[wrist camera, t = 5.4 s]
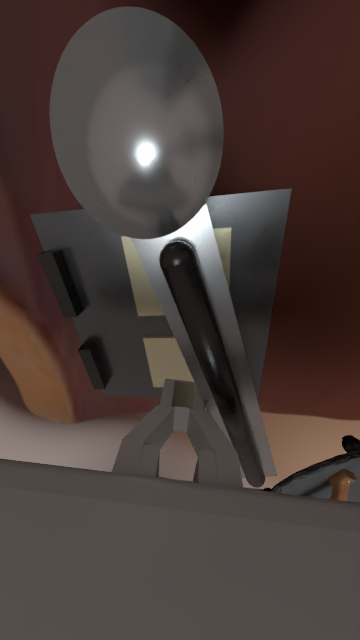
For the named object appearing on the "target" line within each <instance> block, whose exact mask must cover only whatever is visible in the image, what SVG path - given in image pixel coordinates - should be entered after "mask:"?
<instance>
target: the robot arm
mask: <svg viewBox="0 0 360 640" xmlns="http://www.w3.org/2000/svg"><path fill="white" fill-rule="evenodd" d="M173 431H182V432H187V435H188V437H189V439H190V441H191V444H192V446H193V448H194V450H195V452H196V454H197V456H198V459H197V464H196V468H195V473H194V478H193V482H186V481H178V480H170V479H162V478H159V451H160V449H161V447H162V446H163V445H164V443H165V442H166V441H167V439H168V438H169V436H170V435H171V434H172V432H173ZM0 640H360V503H357V502H349V501H341V500H332V499H324V498H316V497H308V496H300V495H292V494H283V493H275V492H267V491H259V490H251V489H243V484H242V478H241V471H240V465H239V458H238V453H237V452H236V450H235V449H234V447H233V446H232V444H231V443H230V442H229V440H228V439H227V437H226V436H225V434H224V433H223V432H222V430H221V429H220V427H219V426H218V424H217V423H216V422H215V420H214V419H213V417H212V416H211V414H210V413H209V411H207V410H205V404H204V402H203V400H202V397H201V395H200V393H199V391H198V388H197V386H196V384H195V382H194V381H183V380H174V379H165V381H164V386H163V392H162V397H161V402H160V405H157V406H156V407H155V408H154V409H152V410H151V411H150V412H149V413H148V414H147V416H146V417H144V418H143V419H142V420H141V421H140V423H138V424H137V426H135V427H134V428H133V430H132V431H130V432H129V434H127V435H126V436H125V437H124V438H123V439H122V442H121V446H120V448H119V451H118V455H117V458H116V461H115V464H114V467H113V470H112V472H105V471H97V470H88V469H80V468H72V467H64V466H56V465H48V464H40V463H31V462H23V461H15V460H7V459H0Z"/></svg>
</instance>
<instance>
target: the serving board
mask: <svg viewBox="0 0 360 640" xmlns="http://www.w3.org/2000/svg"><path fill="white" fill-rule="evenodd" d="M342 446H343V448H344V450H345V451H346V452H347V453H346V454H343V455H338V456H335V457H333V458H330V459H327V460H325V461H322V462H320V463H317V464H314V465H311V466H309V467H307V468H305V469H303V470H301V471H298V472H296V473H294V474H292V475H291V476H289V477H288V478H286V479H284V480H283V481H281V482H279V483H278V484H276V485H275V486H274V487H273V488H272V489H271V488H264V489H266V491H267V492H275V493H283V494H292V495H300V496H308V497H316V498H324V499H332V500H341V501H349V502H357V503H360V441H359V440H358V439H357V438H355V437H354V436H352V435H346V436H344V437H343V438H342ZM269 490H270V491H269Z"/></svg>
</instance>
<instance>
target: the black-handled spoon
mask: <svg viewBox="0 0 360 640" xmlns="http://www.w3.org/2000/svg"><path fill="white" fill-rule="evenodd" d="M50 127H51V135H52V141H53V146H54V150H55V154H56V158H57V161H58V164H59V166H60V169H61V172H62V174H63V176H64V178H65V181H66V183H67V185H68V186H69V188H70V190H71V191H72V193H73V195H74V196H75V198H76V199H77V200H78V202H79V203H80V204H81V206H82V207H83V208H84V209H85V210H86V211H87V212H88V213H89V214H90V215H91V216H92V217H93V218H94V219H95V220H96V221H98V222H99V223H100V224H102V225H103V226H104V227H106V228H108V229H109V230H111V231H113V232H115V233H118V234H120V235H122V236H126V237H130V238H131V240H132V242H133V245H134V247H135V249H136V251H137V254H138V256H139V258H140V260H141V263H142V265H143V267H144V269H145V272H146V274H147V276H148V278H149V281H150V283H151V285H152V287H153V290H154V292H155V294H156V296H157V299H158V301H159V303H160V305H161V308H162V310H163V312H164V314H165V317H166V319H167V321H168V323H169V326H170V328H171V330H172V332H173V335H174V337H175V339H176V341H177V344H178V346H179V348H180V350H181V353H182V355H183V357H184V359H185V361H186V364H187V366H188V368H189V370H190V373H191V375H192V377H193V379H194V382H195V384H196V386H197V388H198V391H199V393H200V395H201V397H202V400H203V402H204V404H205V406H206V409H207V411H209V413H210V414H211V416H212V417H213V419H214V420H215V422H216V423H217V424H218V426H219V427H220V429H221V430H222V432H223V433H224V434H225V436H226V437H227V439H228V440H229V442H230V443H231V444H232V446H233V447H234V449H235V450H236V452H237V453H238V458H239V465H240V471H241V478H244V477H246V479H247V481H248V483H249V484H250V485H252V486H253V487H261V486H262V485H263V484H264V481H265V476H277V474H276V470H275V466H274V462H273V458H272V454H271V451H270V447H269V443H268V439H267V435H266V431H265V427H264V424H263V420H262V416H261V412H260V408H259V404H258V400H257V397H256V393H255V389H254V385H253V381H252V377H251V373H250V370H249V366H248V362H247V358H246V354H245V350H244V346H243V343H242V339H241V335H240V331H239V327H238V323H237V319H236V316H235V312H234V308H233V304H232V300H231V296H230V292H229V289H228V285H227V281H226V277H225V273H224V269H223V266H222V262H221V258H220V254H219V250H218V246H217V242H216V239H215V235H214V231H213V227H212V223H211V219H210V215H209V212H208V208H207V204H206V203H205V202H206V201H207V199H208V197H209V195H210V193H211V191H212V189H213V186H214V184H215V181H216V179H217V175H218V172H219V168H220V164H221V158H222V152H223V139H224V130H223V116H222V108H221V102H220V98H219V94H218V90H217V87H216V84H215V81H214V78H213V76H212V73H211V71H210V69H209V67H208V65H207V63H206V61H205V59H204V57H203V55H202V54H201V52H200V51H199V49H198V48H197V46H196V45H195V43H194V42H193V41H192V40H191V39H190V38H189V36H188V35H187V34H186V33H185V32H184V31H183V30H182V29H181V28H180V27H178V26H177V25H176V24H175V23H173V22H172V21H171V20H169V19H168V18H166V17H164V16H162V15H160V14H159V13H157V12H154V11H151V10H148V9H145V8H139V7H130V6H128V7H119V8H113V9H110V10H107V11H104V12H101V13H100V14H98V15H96V16H95V17H93V18H91V19H90V20H88V21H87V22H86V23H85V24H84V25H83V26H82V27H81V28H80V29H79V30H78V31H77V32H76V33H75V35H74V36H73V37H72V38H71V40H70V41H69V43H68V44H67V46H66V48H65V50H64V52H63V53H62V55H61V58H60V61H59V63H58V66H57V68H56V72H55V76H54V79H53V83H52V90H51V97H50Z"/></svg>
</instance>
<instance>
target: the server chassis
mask: <svg viewBox="0 0 360 640" xmlns="http://www.w3.org/2000/svg"><path fill="white" fill-rule="evenodd" d="M291 189H292V188H290V189H280V190H270V191H260V192H250V193H240V194H230V195H220V196H210V197H208V199H207V201H206V202H205V203H206V204H207V208H208V212H209V215H210V219H211V223H212V227H213V231H214V235H215V239H216V242H217V246H218V250H219V254H220V258H221V262H222V266H223V269H224V273H225V277H226V281H227V285H228V289H229V292H230V296H231V300H232V304H233V308H234V312H235V316H236V319H237V323H238V327H239V331H240V335H241V339H242V343H243V346H244V350H245V354H246V358H247V362H248V366H249V370H250V373H251V377H252V381H253V385H254V389H255V393H256V397H257V399H259V392H260V386H261V380H262V373H263V367H264V361H265V354H266V348H267V342H268V335H269V329H270V323H271V316H272V310H273V303H274V297H275V291H276V284H277V278H278V272H279V265H280V259H281V253H282V246H283V240H284V234H285V227H286V221H287V214H288V208H289V202H290V195H291ZM30 217H31V219H32V222H33V224H34V227H35V229H36V232H37V234H38V237H39V239H40V242H41V244H42V246H43V249H44V252H41V253H39V254H37V255H38V257H39V259H40V262H41V264H42V266H43V269H44V271H45V274H46V276H47V278H48V281H49V283H50V285H51V288H52V290H53V292H54V295H55V297H56V299H57V302H58V304H59V306H60V309H61V311H62V314H63V316H64V317H71V318H72V321H73V323H74V325H75V328H76V330H77V333H78V335H79V338H80V340H81V343H82V346H81V347H80V348H79V349H78V351H79V354H80V356H81V358H82V361H83V363H84V365H85V368H86V370H87V372H88V375H89V377H90V379H91V382H92V384H93V386H94V389H100V390H101V392H102V395H103V396H142V397H162V392H163V386H164V381H165V379H174V380H183V381H194V379H193V377H192V375H191V373H190V370H189V368H188V366H187V364H186V361H185V359H184V357H183V355H182V353H181V350H180V348H179V346H178V344H177V341H176V339H175V337H174V335H173V332H172V330H171V328H170V326H169V323H168V321H167V319H166V317H165V314H164V312H163V310H162V308H161V305H160V303H159V301H158V299H157V296H156V294H155V292H154V290H153V287H152V285H151V283H150V281H149V278H148V276H147V274H146V272H145V269H144V267H143V265H142V263H141V260H140V258H139V256H138V254H137V251H136V249H135V247H134V245H133V242H132V240H131V238H130V237H126V236H122V235H120V234H118V233H115V232H113V231H111V230H109V229H108V228H106V227H104V226H103V225H102V224H100V223H99V222H98V221H96V220H95V219H94V218H93V217H92V216H91V215H90V214H89V213H88V212H87V211H86V210H85V209H80V210H70V211H60V212H50V213H40V214H30Z"/></svg>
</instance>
